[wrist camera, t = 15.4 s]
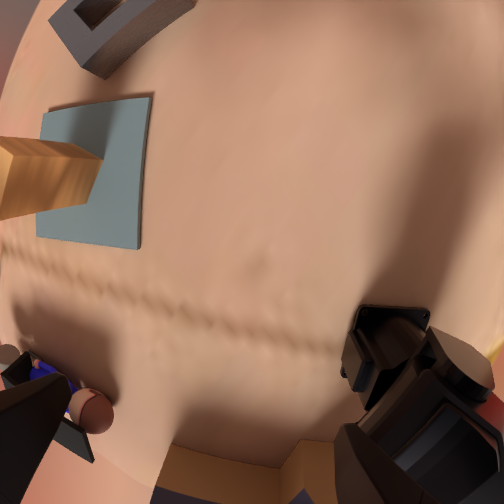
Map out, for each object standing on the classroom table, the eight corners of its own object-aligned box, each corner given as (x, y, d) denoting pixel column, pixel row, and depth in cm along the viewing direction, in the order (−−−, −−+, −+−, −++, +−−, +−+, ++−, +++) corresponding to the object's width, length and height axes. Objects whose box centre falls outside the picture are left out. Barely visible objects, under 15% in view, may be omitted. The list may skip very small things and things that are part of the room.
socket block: (142, -30, 14) (128, -49, 11) (194, 7, 15) (182, -17, 12) (68, 32, 16) (47, 20, 12) (105, 79, 17) (80, 67, 14)
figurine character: (34, 369, 27) (123, 427, 25) (-3, 396, 19) (89, 470, 17) (25, 327, 25) (120, 387, 23) (-19, 352, 18) (76, 434, 16)
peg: (73, 143, 18) (-13, 135, 9) (103, 160, 18) (13, 155, 9) (58, 184, 19) (-28, 194, 10) (86, 203, 19) (-3, 221, 10)
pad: (151, 98, 17) (149, 97, 17) (140, 248, 20) (137, 250, 19) (46, 114, 18) (43, 113, 17) (40, 235, 20) (36, 236, 20)
